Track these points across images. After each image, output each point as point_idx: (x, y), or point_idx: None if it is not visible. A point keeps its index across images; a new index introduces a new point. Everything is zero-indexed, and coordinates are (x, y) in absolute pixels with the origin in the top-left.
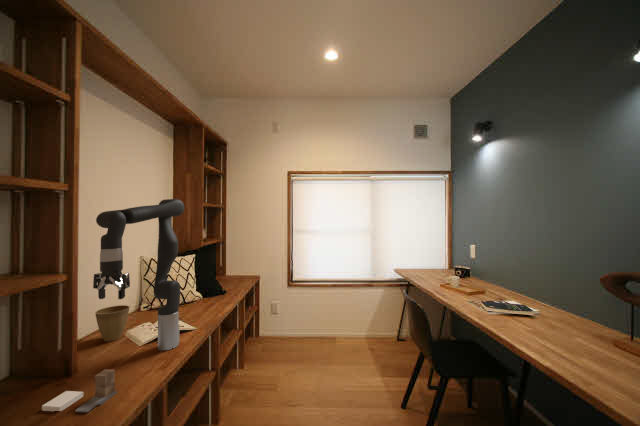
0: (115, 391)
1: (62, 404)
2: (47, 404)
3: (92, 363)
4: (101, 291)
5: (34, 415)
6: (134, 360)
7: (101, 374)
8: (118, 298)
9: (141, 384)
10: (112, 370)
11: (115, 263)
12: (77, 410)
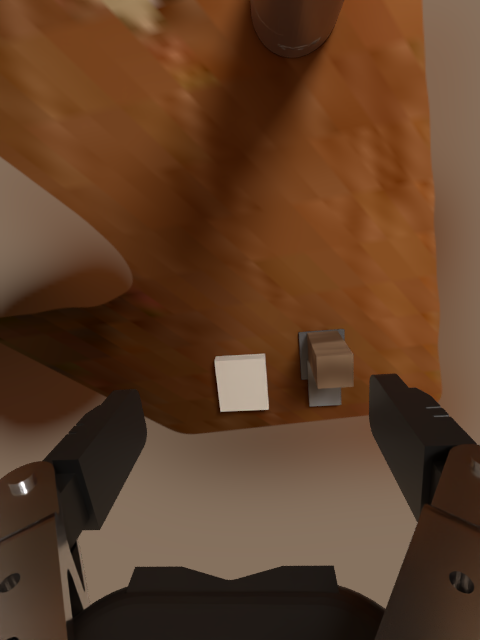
0: (339, 330)
1: (264, 402)
2: (227, 406)
3: (109, 209)
4: (104, 498)
5: (224, 418)
6: (242, 160)
7: (332, 381)
8: (375, 435)
9: (386, 286)
10: (348, 358)
11: None
12: (314, 405)
